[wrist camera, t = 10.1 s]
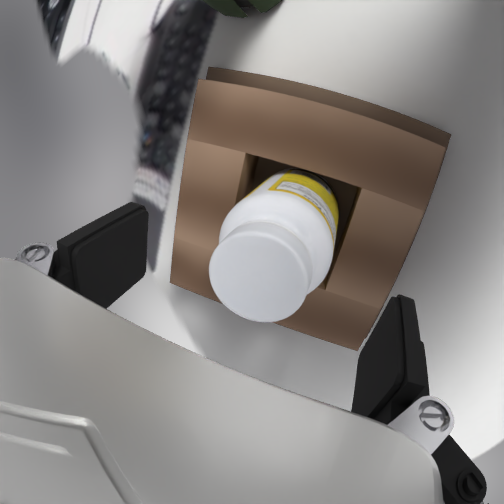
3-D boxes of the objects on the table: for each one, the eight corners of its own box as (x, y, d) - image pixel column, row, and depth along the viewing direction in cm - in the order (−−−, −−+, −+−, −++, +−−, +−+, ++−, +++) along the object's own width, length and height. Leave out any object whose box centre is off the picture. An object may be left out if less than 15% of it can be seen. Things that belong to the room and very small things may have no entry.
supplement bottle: (271, 251, 23) (216, 339, 14) (248, 177, 21) (171, 227, 12) (347, 239, 20) (337, 331, 12) (329, 158, 19) (306, 196, 10)
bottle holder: (213, 68, 19) (186, 61, 16) (447, 133, 16) (466, 137, 13) (181, 266, 27) (157, 288, 23) (365, 332, 24) (364, 364, 20)
